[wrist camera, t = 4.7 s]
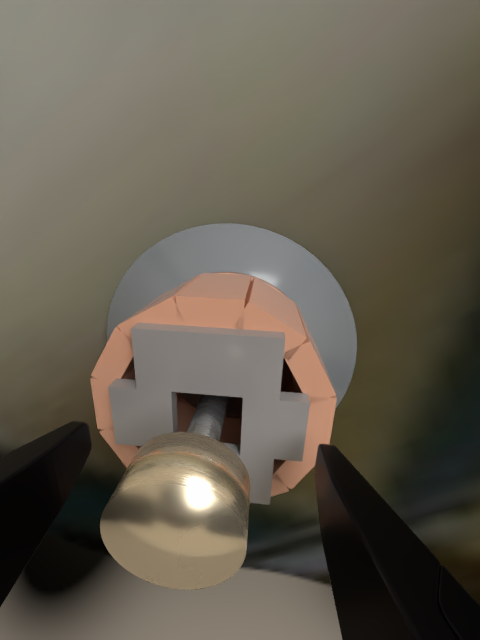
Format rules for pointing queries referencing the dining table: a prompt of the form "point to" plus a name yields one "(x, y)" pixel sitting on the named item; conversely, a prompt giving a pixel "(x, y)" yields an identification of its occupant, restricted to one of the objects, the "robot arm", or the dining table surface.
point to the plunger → (183, 504)
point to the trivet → (259, 261)
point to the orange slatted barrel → (220, 376)
